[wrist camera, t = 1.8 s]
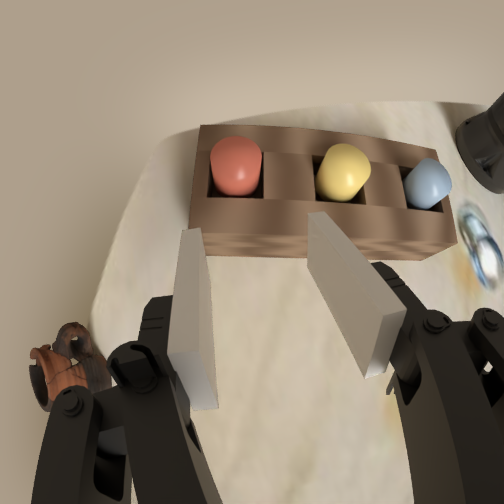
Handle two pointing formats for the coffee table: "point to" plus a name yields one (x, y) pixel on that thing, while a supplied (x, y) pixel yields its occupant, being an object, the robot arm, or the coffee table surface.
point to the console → (315, 198)
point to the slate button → (426, 185)
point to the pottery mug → (67, 366)
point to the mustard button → (342, 173)
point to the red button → (236, 167)
